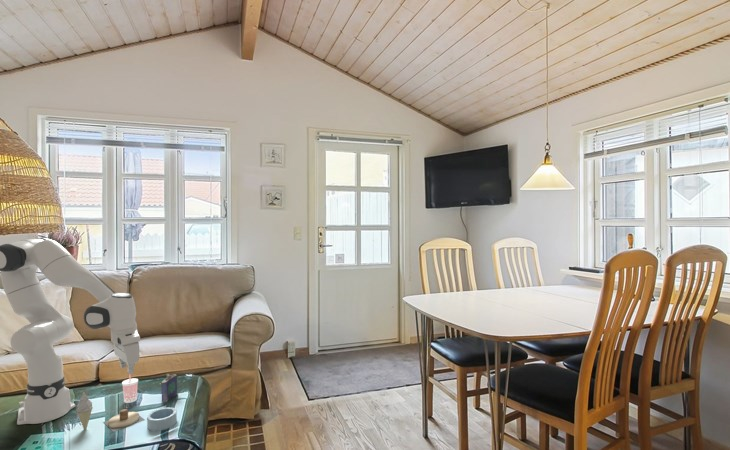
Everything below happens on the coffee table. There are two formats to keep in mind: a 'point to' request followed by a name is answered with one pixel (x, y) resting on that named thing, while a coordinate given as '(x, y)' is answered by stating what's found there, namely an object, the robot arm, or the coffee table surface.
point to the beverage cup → (130, 389)
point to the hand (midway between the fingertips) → (127, 370)
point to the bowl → (161, 419)
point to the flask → (169, 387)
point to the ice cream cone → (84, 410)
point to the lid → (123, 419)
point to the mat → (123, 427)
